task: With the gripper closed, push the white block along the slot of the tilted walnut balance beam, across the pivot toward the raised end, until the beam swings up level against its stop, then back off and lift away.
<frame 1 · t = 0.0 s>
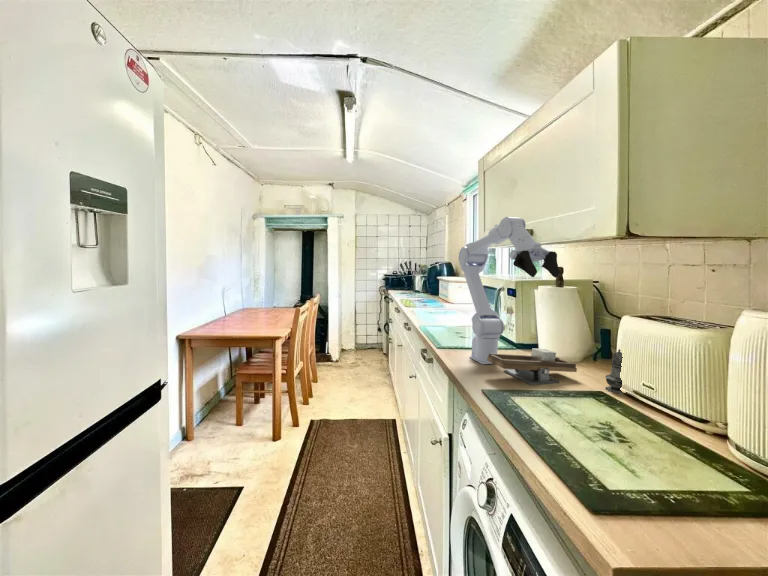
hand: (546, 274, 101), 32 cm above the countertop, tool tilted 50°, fingers open, 7 cm apart
white block: (542, 362, 114), point 4 cm above the countertop, tilted 5°, touching balance beam
fulcrum stand: (530, 377, 113), on the countertop
balance beam: (531, 362, 113), point 5 cm above the countertop, hinge at -5.2°, touching white block
dark grey chess piece: (616, 391, 104), on the countertop
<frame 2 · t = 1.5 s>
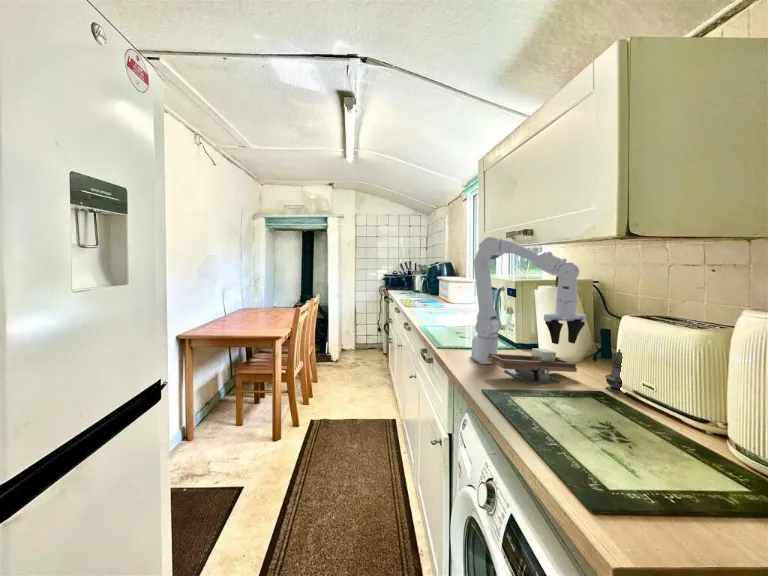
hand: (563, 343, 116), 10 cm above the countertop, tool pointing down, fingers open, 6 cm apart
nothing on the countertop moved.
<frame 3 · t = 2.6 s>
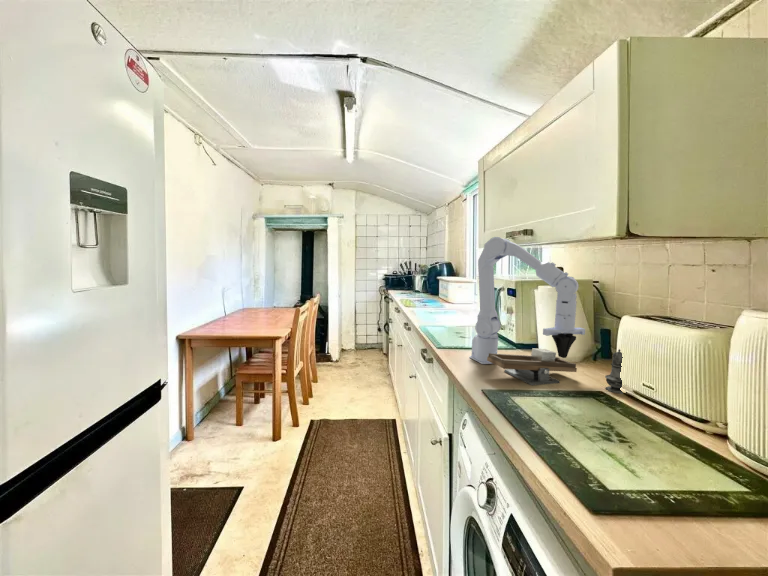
hand: (562, 357, 116), 6 cm above the countertop, tool pointing down, fingers closed
nothing on the countertop moved.
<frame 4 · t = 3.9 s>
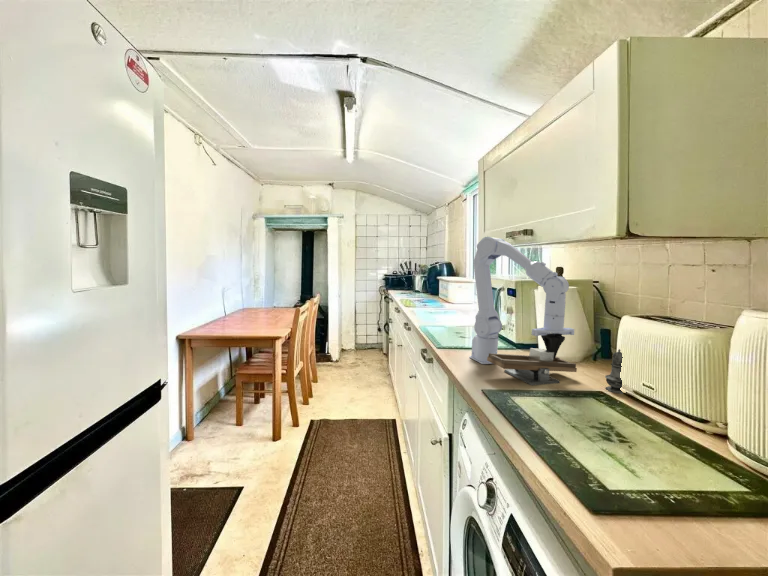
hand: (551, 357, 115), 6 cm above the countertop, tool pointing down, fingers closed
white block: (540, 362, 114), point 4 cm above the countertop, tilted 5°, touching balance beam, gripper
everything else where it was.
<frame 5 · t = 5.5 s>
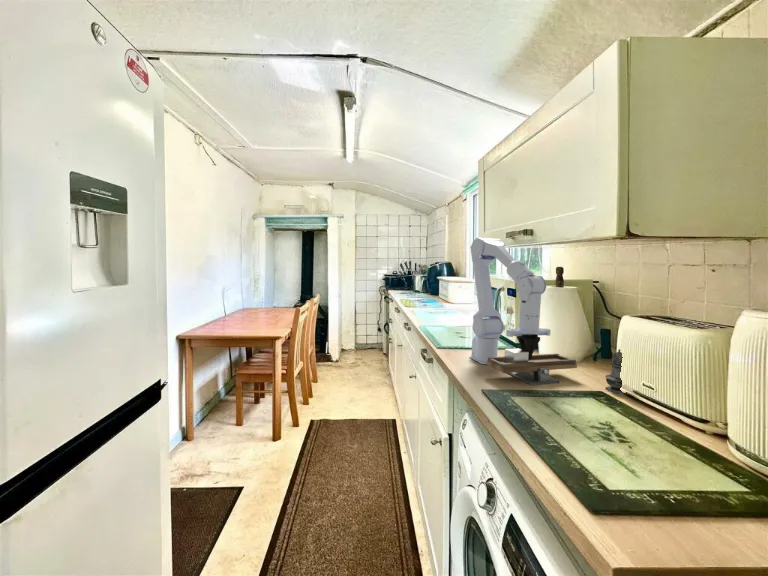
hand: (526, 358, 112), 6 cm above the countertop, tool pointing down, fingers closed
white block: (515, 363, 111), point 5 cm above the countertop, touching gripper
balance beam: (531, 362, 113), point 5 cm above the countertop, hinge at 0.3°
everything else where it was.
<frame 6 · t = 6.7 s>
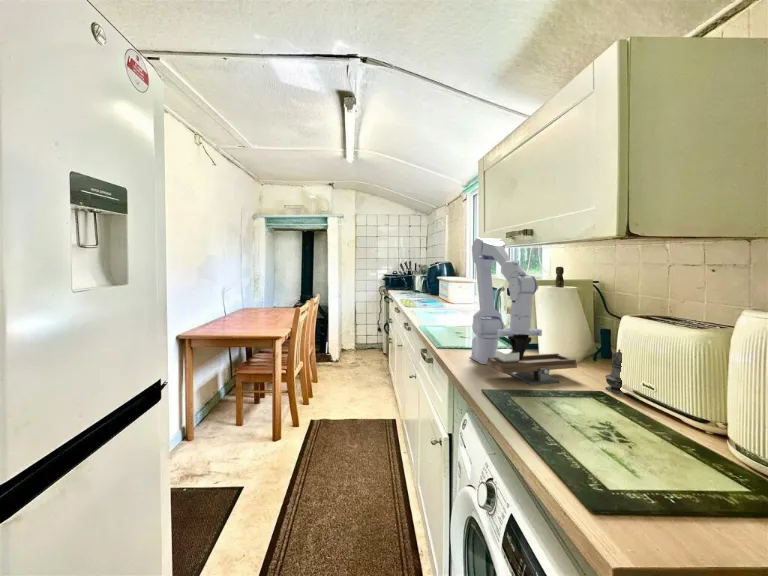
hand: (518, 359, 111), 6 cm above the countertop, tool pointing down, fingers closed
white block: (506, 363, 110), point 5 cm above the countertop, touching balance beam, gripper
balance beam: (531, 362, 113), point 5 cm above the countertop, hinge at 0.6°, touching white block
everything else where it was.
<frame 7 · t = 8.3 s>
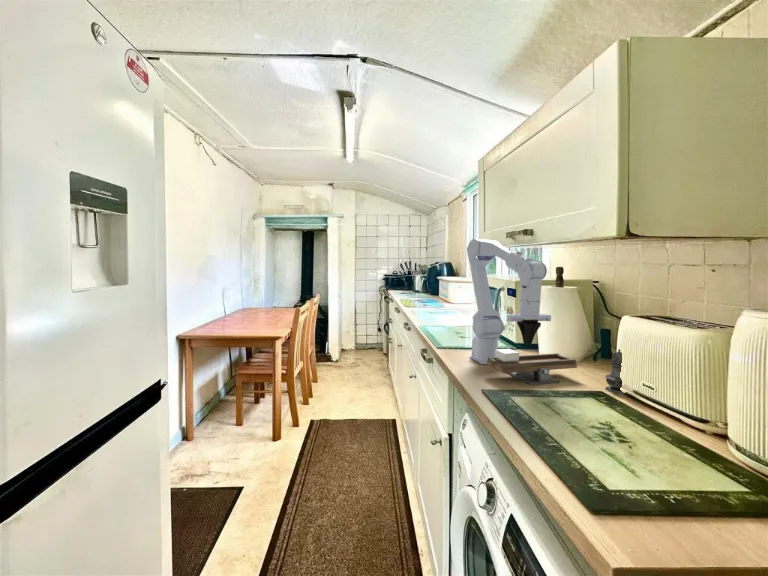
hand: (527, 344, 112), 10 cm above the countertop, tool pointing down, fingers closed
white block: (506, 364, 110), point 5 cm above the countertop, touching balance beam
everything else where it was.
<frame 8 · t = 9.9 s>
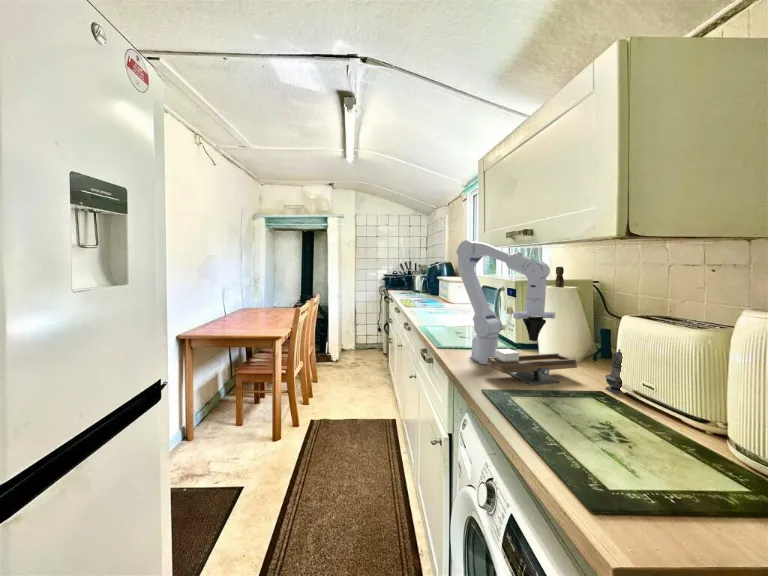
hand: (532, 340, 118), 10 cm above the countertop, tool pointing down, fingers closed
nothing on the countertop moved.
at the end: balance beam at +1° (first picture: -5°); white block inside the target area (0.3 cm from its centre), point 4.6 cm above the countertop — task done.
